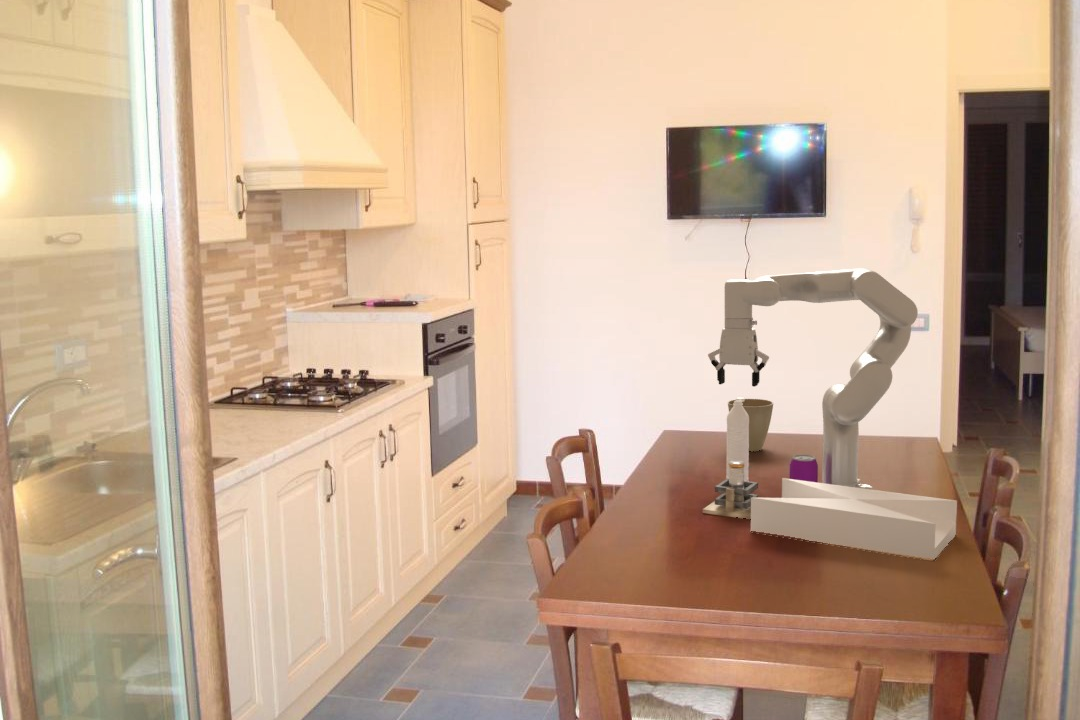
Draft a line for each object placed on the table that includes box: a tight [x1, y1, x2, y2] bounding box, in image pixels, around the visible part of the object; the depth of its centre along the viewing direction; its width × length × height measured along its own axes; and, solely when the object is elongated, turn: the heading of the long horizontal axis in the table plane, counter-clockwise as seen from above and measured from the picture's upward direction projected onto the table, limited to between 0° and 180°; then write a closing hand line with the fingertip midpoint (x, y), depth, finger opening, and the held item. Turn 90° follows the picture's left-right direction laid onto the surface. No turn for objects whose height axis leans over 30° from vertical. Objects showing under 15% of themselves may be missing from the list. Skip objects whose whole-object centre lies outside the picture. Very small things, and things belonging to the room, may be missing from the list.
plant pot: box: [727, 398, 774, 453], centre depth 361 cm, size 15×15×16 cm
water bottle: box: [725, 396, 750, 481], centre depth 319 cm, size 9×6×25 cm
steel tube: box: [728, 461, 745, 508], centre depth 294 cm, size 4×4×12 cm
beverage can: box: [788, 454, 819, 483], centre depth 303 cm, size 8×8×12 cm
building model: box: [750, 477, 958, 559], centre depth 272 cm, size 45×22×10 cm, turn 57°
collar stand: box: [702, 478, 759, 520], centre depth 294 cm, size 14×14×7 cm
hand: (738, 384), depth 303 cm, fingers open, 9 cm apart
